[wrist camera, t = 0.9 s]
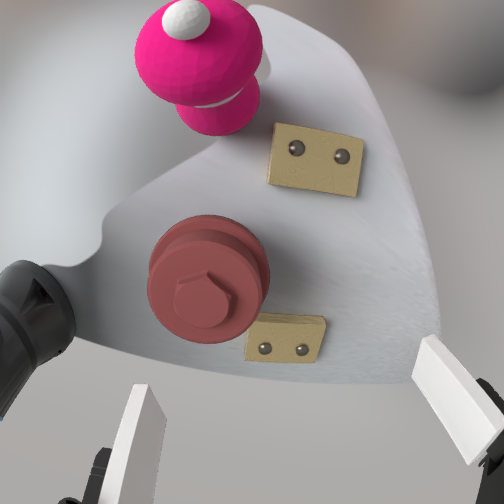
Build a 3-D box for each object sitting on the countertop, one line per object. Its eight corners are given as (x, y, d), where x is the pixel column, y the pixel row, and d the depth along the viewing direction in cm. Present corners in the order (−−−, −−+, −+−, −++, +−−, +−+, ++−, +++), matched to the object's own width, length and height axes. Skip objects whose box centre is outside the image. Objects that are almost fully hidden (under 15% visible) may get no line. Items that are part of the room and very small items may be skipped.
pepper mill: (199, 66, 24) (138, -54, 5) (266, 84, 25) (313, -31, 6) (176, 128, 26) (60, 88, 7) (243, 148, 27) (249, 126, 8)
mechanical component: (246, 188, 28) (273, 275, 32) (157, 219, 29) (190, 299, 32) (250, 211, 17) (291, 342, 20) (108, 260, 17) (168, 371, 21)
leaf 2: (266, 182, 28) (268, 184, 26) (273, 124, 26) (276, 122, 24) (348, 194, 29) (357, 197, 27) (356, 140, 27) (365, 139, 25)
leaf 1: (244, 350, 35) (244, 362, 33) (249, 311, 33) (250, 322, 31) (311, 353, 36) (315, 364, 33) (322, 316, 34) (327, 326, 31)
